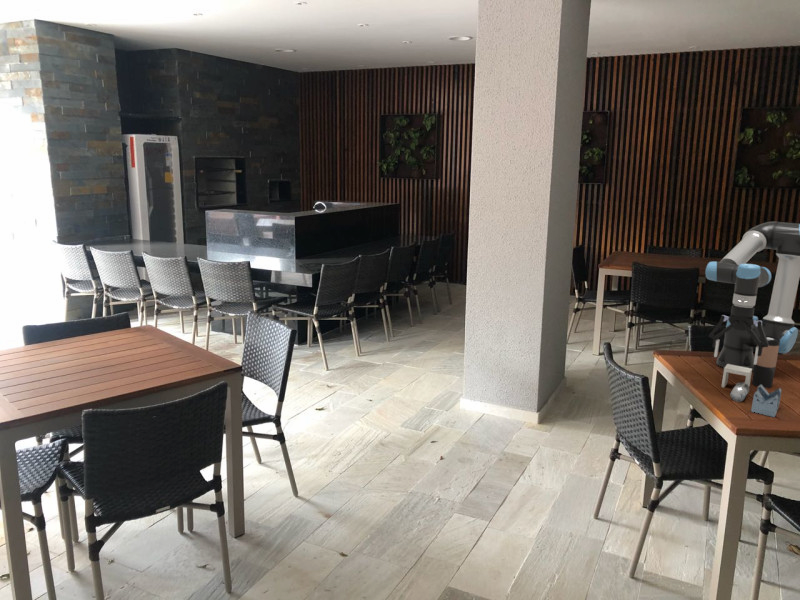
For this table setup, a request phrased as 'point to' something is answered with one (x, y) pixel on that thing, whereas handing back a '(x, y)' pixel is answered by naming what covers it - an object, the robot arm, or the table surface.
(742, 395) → the axle
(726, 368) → the u shaped block
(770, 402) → the v block
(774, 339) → the travel mug
